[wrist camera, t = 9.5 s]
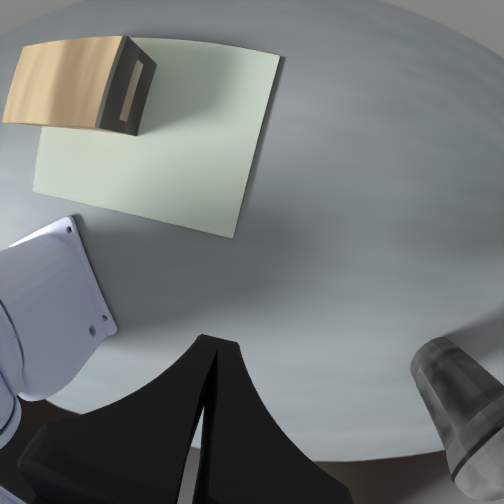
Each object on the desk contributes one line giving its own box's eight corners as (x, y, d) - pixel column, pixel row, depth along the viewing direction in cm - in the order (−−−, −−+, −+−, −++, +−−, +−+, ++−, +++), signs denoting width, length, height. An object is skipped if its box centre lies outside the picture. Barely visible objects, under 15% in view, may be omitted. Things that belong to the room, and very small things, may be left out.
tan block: (127, 35, 11) (24, 46, 10) (99, 127, 12) (2, 122, 12) (157, 64, 15) (64, 63, 15) (136, 136, 17) (46, 126, 16)
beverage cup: (410, 401, 23) (490, 565, 4) (384, 361, 21) (488, 573, 2) (469, 356, 22) (577, 494, 2) (451, 307, 20) (606, 469, 1)
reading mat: (279, 57, 16) (280, 56, 15) (233, 237, 19) (232, 238, 18) (70, 42, 15) (68, 41, 14) (34, 190, 18) (32, 191, 18)
